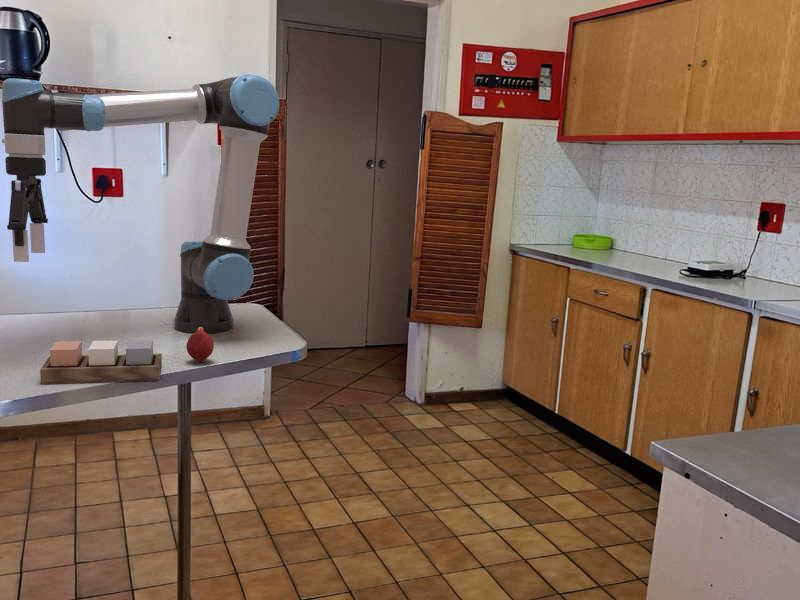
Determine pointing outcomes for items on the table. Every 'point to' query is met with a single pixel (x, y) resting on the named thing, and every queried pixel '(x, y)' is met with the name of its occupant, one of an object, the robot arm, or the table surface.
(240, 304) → the table surface
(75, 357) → the terracotta key
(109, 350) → the cream key
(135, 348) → the slate key
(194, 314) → the robot arm
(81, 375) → the wooden compartment tray
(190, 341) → the onion
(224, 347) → the table surface
